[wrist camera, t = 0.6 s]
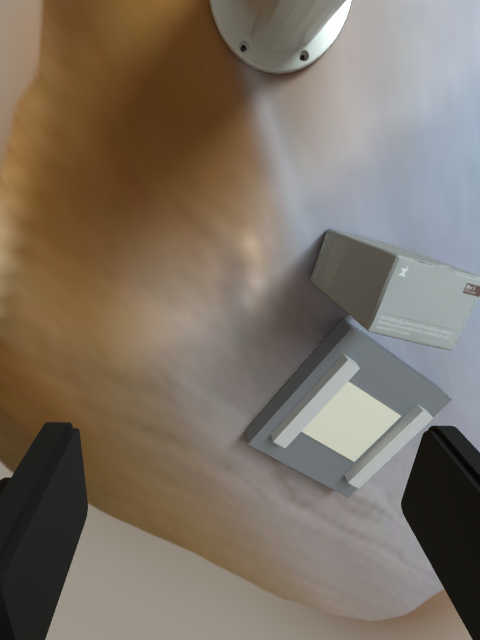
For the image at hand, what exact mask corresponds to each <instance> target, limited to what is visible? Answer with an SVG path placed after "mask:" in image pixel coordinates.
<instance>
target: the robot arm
mask: <svg viewBox="0 0 480 640" xmlns="http://www.w3.org/2000/svg"><path fill="white" fill-rule="evenodd" d="M209 1H210V8H211V11H212V15H213V18H214V21H215V24H216V26H217V28H218V31H219V33H220V35H221V37H222V38H223V40H224V41H225V43H226V44H227V46H228V47H229V49H230V50H231V51H232V52H233V53H234V54H235V55H236V56H237V57H238V58H239V59H240V60H242V61H243V62H245V63H246V64H248V65H249V66H251V67H252V68H255V69H257V70H260V71H263V72H267V73H274V74H282V73H291V72H294V71H297V70H300V69H303V68H305V67H306V66H308V65H310V64H312V63H313V62H315V61H316V60H317V59H318V58H320V57H321V56H322V55H323V54H324V53H325V52H326V51H327V50H328V49H329V48H330V47H331V46H332V44H333V43H334V41H335V40H336V38H337V37H338V35H339V34H340V32H341V30H342V28H343V26H344V24H345V22H346V20H347V17H348V14H349V11H350V7H351V4H352V0H209ZM242 46H244V47H245V48H246V51H245V52H242V51H241V47H242ZM300 55H303V56H304V61H301V60H300ZM401 507H402V511H403V514H404V516H405V518H406V520H407V522H408V523H409V525H410V527H411V529H412V531H413V533H414V534H415V536H416V538H417V540H418V542H419V543H420V545H421V547H422V549H423V551H424V552H425V554H426V556H427V558H428V560H429V561H430V563H431V565H432V567H433V569H434V571H435V572H436V574H437V576H438V578H439V580H440V581H441V583H442V585H443V587H444V589H445V590H446V592H447V594H448V596H449V598H450V599H451V601H452V603H453V605H454V607H455V608H456V610H457V612H458V614H459V616H460V618H461V619H462V621H463V623H464V625H465V627H466V628H467V630H468V632H469V634H470V636H471V637H472V639H473V640H480V453H479V451H478V450H477V449H476V448H475V447H474V446H473V445H472V444H471V443H470V442H469V441H468V440H467V439H466V438H465V436H464V435H463V434H462V433H461V432H460V431H459V430H458V429H457V428H456V427H454V426H431V427H430V428H429V429H428V431H425V432H424V434H423V436H422V439H421V442H420V445H419V448H418V451H417V454H416V458H415V461H414V464H413V467H412V470H411V473H410V476H409V479H408V482H407V485H406V489H405V492H404V495H403V498H402V502H401ZM87 510H88V502H87V493H86V484H85V476H84V467H83V458H82V449H81V440H80V432H79V429H77V428H73V427H72V424H71V423H65V422H47V423H45V424H44V426H43V427H42V429H41V430H40V432H39V434H38V435H37V437H36V438H35V440H34V442H33V443H32V445H31V446H30V448H29V450H28V451H27V453H26V455H25V456H24V458H23V459H22V461H21V463H20V464H19V466H18V467H17V469H16V471H15V472H14V474H13V476H12V477H11V478H3V479H1V480H0V640H45V638H46V635H47V632H48V630H49V626H50V624H51V621H52V617H53V615H54V612H55V609H56V606H57V603H58V600H59V597H60V594H61V591H62V588H63V585H64V582H65V579H66V576H67V574H68V571H69V568H70V565H71V562H72V559H73V556H74V553H75V550H76V547H77V544H78V541H79V538H80V535H81V532H82V529H83V526H84V523H85V520H86V517H87Z"/></svg>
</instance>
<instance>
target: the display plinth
mask: <svg viewBox="0 0 480 640" xmlns="http://www.w3.org/2000/svg"><path fill="white" fill-rule="evenodd" d="M450 401H451V399H450V398H449V397H448V396H447V395H446V394H445V393H444V392H443V391H442V390H441V389H440V388H439V387H438V386H437V385H435V384H434V383H433V382H431V381H430V380H428V379H427V378H426V377H424V376H423V375H421V374H420V373H419V372H417V371H416V370H414V369H413V368H412V367H410V366H409V365H408V364H406V363H405V362H403V361H402V360H401V359H399V358H398V357H396V356H395V355H394V354H392V353H391V352H389V351H388V350H387V349H385V348H384V347H383V346H381V345H380V344H378V343H377V342H376V341H374V340H373V339H371V338H370V337H369V336H367V335H366V334H364V333H363V332H362V331H360V330H359V329H358V328H356V327H355V326H353V325H352V324H351V323H349V322H348V321H346V320H345V319H344V318H343V319H342V320H341V321H340V322H339V323H338V324H337V325H336V327H335V328H334V329H333V330H332V331H331V332H330V333H329V335H328V336H327V337H326V338H325V339H324V340H323V341H322V343H321V344H320V345H319V346H318V347H317V348H316V349H315V351H314V352H313V353H312V354H311V355H310V356H309V357H308V359H307V360H306V361H305V362H304V363H303V364H302V365H301V367H300V368H299V369H298V370H297V371H296V372H295V373H294V375H293V376H292V377H291V378H290V379H289V380H288V381H287V383H286V384H285V385H284V386H283V387H282V388H281V389H280V391H279V392H278V393H277V394H276V395H275V396H274V397H273V399H272V400H271V401H270V402H269V403H268V404H267V406H266V407H265V408H264V409H263V410H262V411H261V412H260V414H259V415H258V416H257V417H256V418H255V419H254V420H253V422H252V423H251V424H250V425H249V426H248V427H247V428H246V434H247V441H248V445H250V446H252V447H254V448H256V449H257V450H259V451H261V452H263V453H265V454H267V455H269V456H271V457H273V458H274V459H276V460H278V461H280V462H282V463H284V464H286V465H288V466H289V467H291V468H293V469H295V470H297V471H299V472H301V473H303V474H304V475H306V476H308V477H310V478H312V479H314V480H316V481H318V482H320V483H321V484H323V485H325V486H327V487H329V488H331V489H333V490H335V491H336V492H338V493H340V494H342V495H344V496H346V497H349V496H350V495H351V494H352V493H353V492H355V491H356V490H357V489H359V488H360V487H361V486H362V485H363V484H364V483H365V482H366V481H367V480H368V479H369V478H370V477H371V476H372V475H374V474H375V473H376V472H377V471H378V470H379V469H380V468H381V467H382V466H383V465H384V464H385V463H386V462H387V461H388V460H389V459H390V458H392V457H393V456H394V455H395V454H396V453H397V452H398V451H399V450H400V449H401V448H402V447H403V446H404V445H405V444H406V443H407V442H409V441H410V440H411V439H412V438H413V437H414V436H415V435H416V434H417V433H418V432H419V431H420V430H421V429H422V428H423V427H424V426H426V425H427V424H428V423H429V422H430V421H431V420H432V419H433V417H434V416H435V415H436V414H437V413H438V412H439V411H440V410H441V409H442V408H444V407H445V406H446V405H447V404H448V403H449V402H450Z"/></svg>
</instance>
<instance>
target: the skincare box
mask: <svg viewBox="0 0 480 640" xmlns="http://www.w3.org/2000/svg"><path fill="white" fill-rule="evenodd" d="M310 281H311V282H312V283H313V284H314V285H315V286H317V287H318V288H319V289H320V290H321V291H322V292H324V293H325V294H326V295H327V296H328V297H329V298H331V299H332V300H333V301H334V302H335V303H336V304H338V305H339V306H340V307H341V308H342V309H343V310H345V311H346V312H347V313H348V314H349V315H350V316H352V317H353V318H354V319H355V320H356V321H357V322H359V323H360V324H361V325H362V326H363V327H364V328H365V329H367V331H369V332H372V333H376V334H380V335H384V336H389V337H393V338H397V339H401V340H405V341H410V342H414V343H418V344H423V345H427V346H432V347H437V348H441V349H446V350H453V348H454V346H455V344H456V342H457V340H458V338H459V336H460V334H461V332H462V330H463V328H464V326H465V324H466V322H467V319H468V318H469V316H470V314H471V312H472V310H473V308H474V306H475V304H476V302H477V300H478V298H479V296H480V276H477V275H475V274H472V273H470V272H467V271H464V270H462V269H459V268H456V267H453V266H451V265H448V264H445V263H442V262H440V261H437V260H434V259H432V258H429V257H426V256H424V255H421V254H418V253H415V252H412V251H409V250H406V249H403V248H399V247H396V246H393V245H390V244H387V243H384V242H381V241H377V240H373V239H369V238H365V237H361V236H357V235H353V234H349V233H345V232H341V231H337V230H332V229H328V230H327V232H326V235H325V238H324V241H323V244H322V247H321V250H320V253H319V256H318V259H317V262H316V265H315V268H314V271H313V274H312V277H311V280H310Z"/></svg>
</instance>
